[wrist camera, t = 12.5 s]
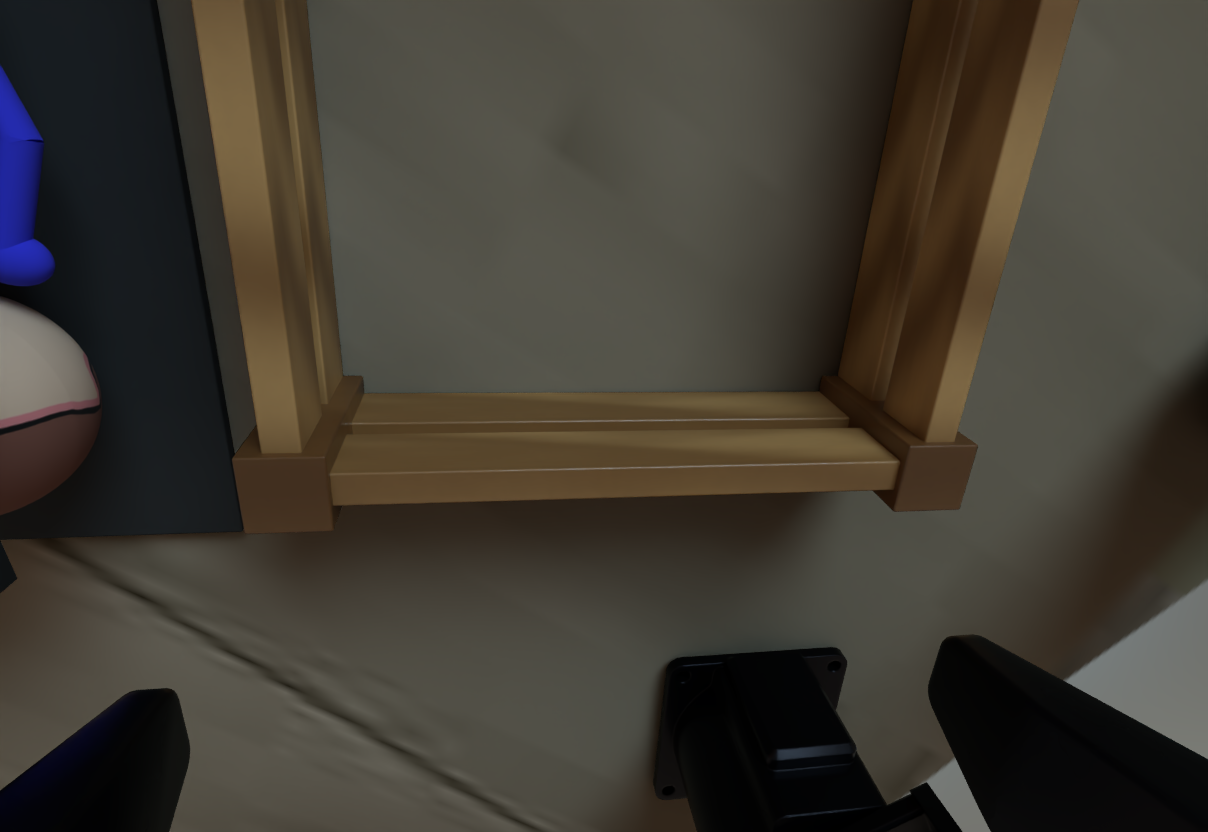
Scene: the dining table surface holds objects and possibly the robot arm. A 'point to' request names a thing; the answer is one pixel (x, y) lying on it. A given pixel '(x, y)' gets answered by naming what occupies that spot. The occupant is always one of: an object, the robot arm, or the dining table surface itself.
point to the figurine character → (34, 341)
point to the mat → (121, 273)
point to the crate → (636, 419)
